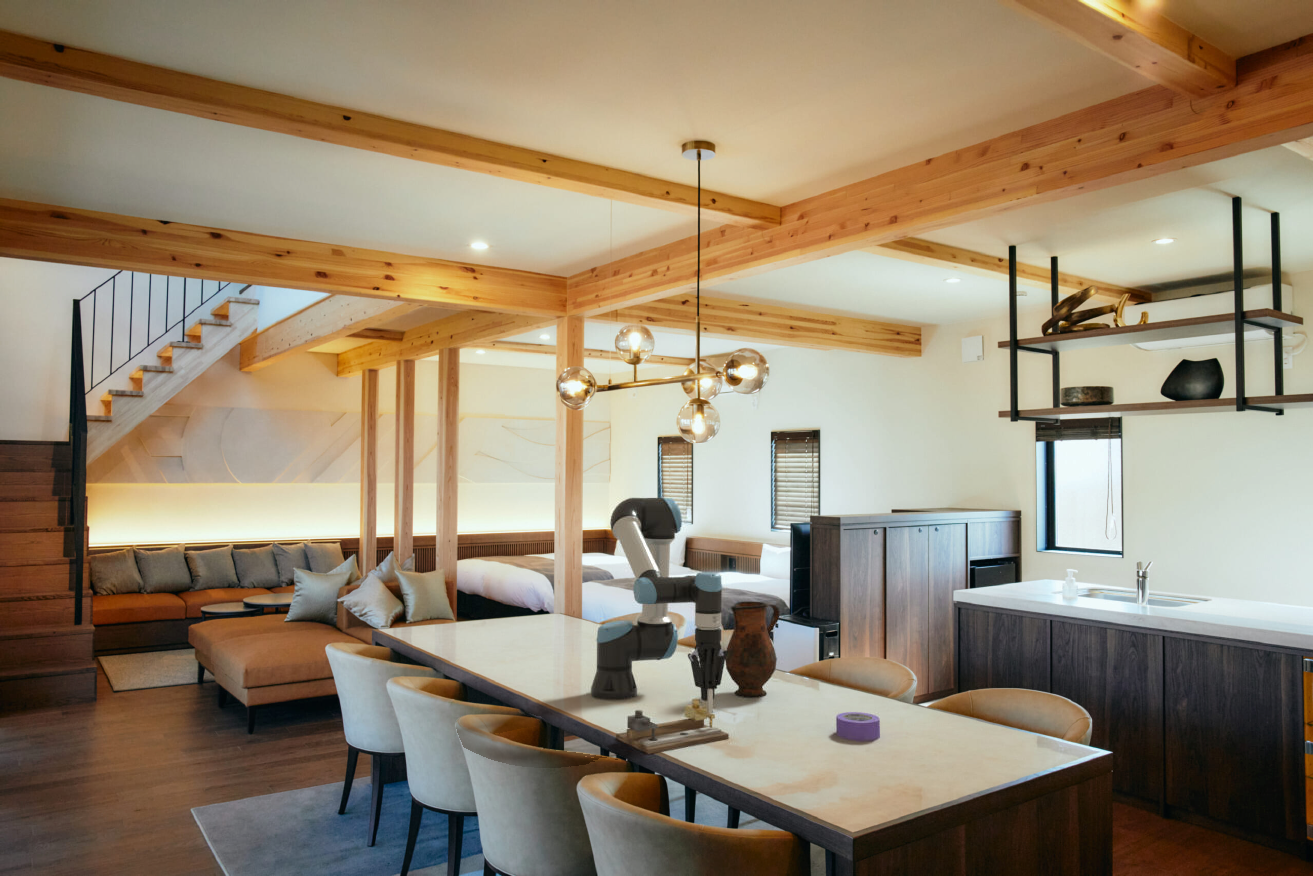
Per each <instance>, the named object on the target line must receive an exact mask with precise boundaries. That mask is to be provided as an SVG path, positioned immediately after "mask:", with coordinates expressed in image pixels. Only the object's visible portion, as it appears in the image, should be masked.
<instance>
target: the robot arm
mask: <svg viewBox="0 0 1313 876" xmlns="http://www.w3.org/2000/svg"><path fill="white" fill-rule="evenodd" d="M681 512H682V511H681V509H680V507H679V504H678V502H677V501H676V500H675V499H673V498H670V497H669V498H668V497H666V498H665V497H629V498H627V499H624V500H622V501H620V503H618V505H616V507H614V510H613V511H612V513H611V516H610V521H609V522H610V523H609V524H610V525H609V526H610V530H611V532H612V536H614V538H615V539H616V540H618V541H619V544H620V545H621V548H622V550H623V552H624V554H625V557H626V559H627V562H628V564H629V566H630V569H631V570H632V574H633V575H634V577H635V580H634V582H633V589H632V592H633V596H634V600H635V602H636V603H637V604H640V605H642V606H641V607H642V608H641V611H642V612H641V614H640V615H639V616H638V617H637V621H636V623H637V624H633V622H632V621H630V620H615V621H614V620H613V621H609V622H606V623H603V624H602V625H600V626H599V627H598V629H597V634H596V641H595V642H596V672H595V674H594V677H593V681H592V683H591V687H590V695H591V696H592V697H593V698H596V699H600V700H610V701H611V700H612V701H613V700H615V701H616V700H617V701H618V700H626V699H631V698H634V697H637V695H638V687H637V684H636V680H635V677H634V673H633V662H638V661H639V662H640V661H641V662H643V661H655V660H656V661H660V660H666V659H667V660H668V659H669V658H671V657H672V656H673V655H674V654H675V652H676V649H677V646H678V639H679V634H678V628H677V626H676V625H675V623H672V622H673V620H672V618H671V617H670V616H669V614H668V610H669V609H668V608H669V606H668V605H669V604H681V603H682V604H683V603H684V604H685V603H686V604H687V603H693V604H694V606H695V608H694V609H695V610H694V626H695V629H694V640H695V646H694V650H693V652H692V653H688V654H687V658H688V659H689V661H690V665H691V666H690V667H691V671H692V676H693V681H694V685H695V687H697V688H700V699H701V701H702V706H703V707H706V708H707V712H709V713H712V714H713V713H714V712H713V711H714V702H713V701H714V700H715V697H716V695H715V691H716V690H717V689H718V686H720V685H721V683H722V679H723V672H724V667H725V664H726V662H725V658H726V656H727V654H728V651H727V650H724V649H723V648H722V645H721V641H722V629H721V627H722V600H723V599H722V595H723V594H722V593H723V591H722V589H723V584H722V576H721V574H720V573H718V572H709V571H706V572H698V573H696V575H695V574H694V575H685V576H676V577H675V576H670V550H671V544H672V542H673V541H674V540H675V539H676V534H678V533H679V532H681V529H682V527H683V526H682V525H683V523H682V522H683V519H682V513H681Z"/></svg>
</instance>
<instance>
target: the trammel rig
mask: <svg viewBox="0 0 1313 876" xmlns="http://www.w3.org/2000/svg"><path fill="white" fill-rule="evenodd" d="M643 714H644V713H643V710H640V709H637V710H635V711H634V714H633V715H627V723H626V724H627V729H626V731H625V732H620V733H616V734H615V736H616V737H615V739H616V740H618V741H621V742H622V743H624V744H627V745H629V746H630V747H631V746H632V747H634V748H635V749H637V750H640V751H641V752H643V753H646V754H647V755H650V754H655V753H661V752H666V751H671V750H675V749H677V750H678V749H681V748H686V747H691V746H697V745H702V744H707V743H713V742H717V741H722V740H723V741H724V740H728V739H729V733H727V732H724V731H723V730H722V729H720V728H718V727H715V726H713V725H712V728H710V727H709V725H706V724H705V719H702V720H697V721H695V720H692V719H690V718H685V719H679V720H673V721H668V722H662V723H661V722H660V723H655V722H652V721H651V718H650V717H648V716H646V715H643Z"/></svg>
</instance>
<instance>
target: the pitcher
mask: <svg viewBox="0 0 1313 876" xmlns="http://www.w3.org/2000/svg"><path fill="white" fill-rule="evenodd" d="M768 607H770V608H772V610H773V613H774V614H773V618H772V620H771V622H770V624H769V625H768V626H767V620H766V619H767V614H766V613H767V608H768ZM730 609H731V612H732V614H733V618H734V628H733V631H732V633H731V637H730V639H729V642H728V645H727V647H726V651H728V654H727V656H726V658H725V669H726V670H727V672H728V675H729V676H730V678H731V680H732V681H733V682H734V684H735V685H737V687H738V688H737V690H735V691H734V695H735V696H736V697H739V698H740V697H741V698H748V699H749V698H754V699H755V698H762V697H765V696H766V695H767V694H768V693H767V691H766V690H764V688H763V686H765V684H767V682H768V681H770V679H771V677H772V676H773V674H774V673H775V671H776V669H777V661H778V658H777V655H776V654H777V653H776V650H775V647H774V644H773V642H772V640H771V638H770V634H771V632H772V630H773V628H774V627H775V625H777V623H778V622H779V619H780V610H779V608H778V606H776V605H774V604H769V603H766V602H761V601H737V602H735V603H734V605H732V606H731V607H730Z"/></svg>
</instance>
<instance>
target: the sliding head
mask: <svg viewBox="0 0 1313 876" xmlns="http://www.w3.org/2000/svg"><path fill="white" fill-rule="evenodd" d="M691 701H692V702H691V703H692V704H688V705H684V717H685V718H686V719H689V718H690V719H692V720H695V721H697V720H702V719H704V720H707V718H708V719H709V720H708V721H709V723H708V724H709V725H708V726H709V727H710V728H712V726H713V719H716V714H714V713H713V712H712V713H709V712H707V708H706V707H703V705H700V699H699V698H692V699H691Z"/></svg>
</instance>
